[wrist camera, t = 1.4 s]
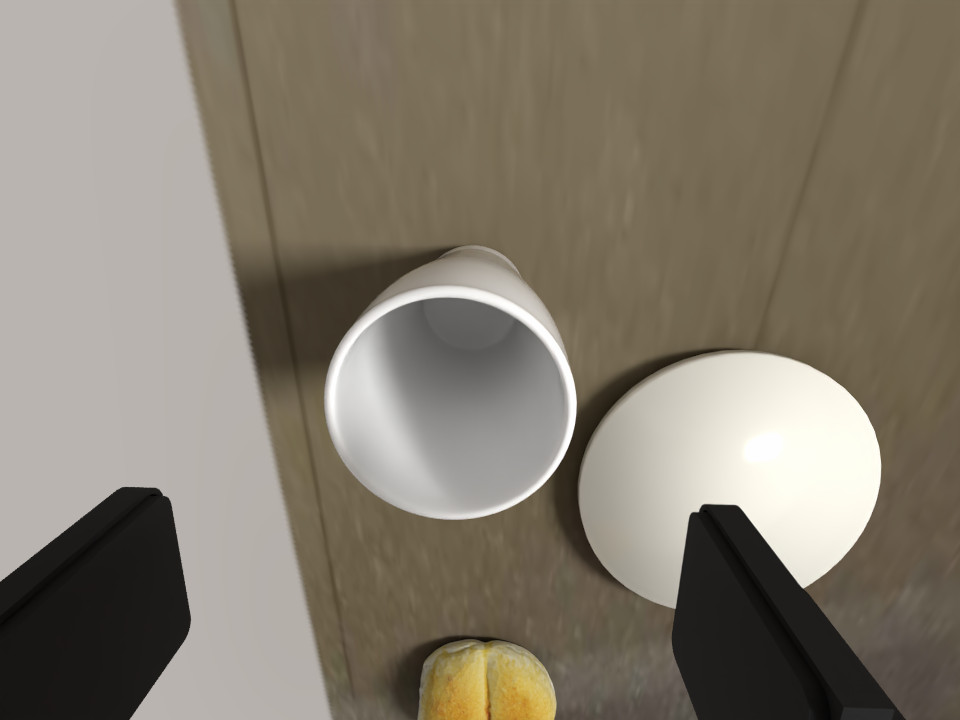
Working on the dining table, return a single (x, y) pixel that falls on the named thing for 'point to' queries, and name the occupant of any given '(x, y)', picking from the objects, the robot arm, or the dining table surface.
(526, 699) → the bread roll
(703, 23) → the dining table surface
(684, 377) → the cream dish
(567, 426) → the white cup
